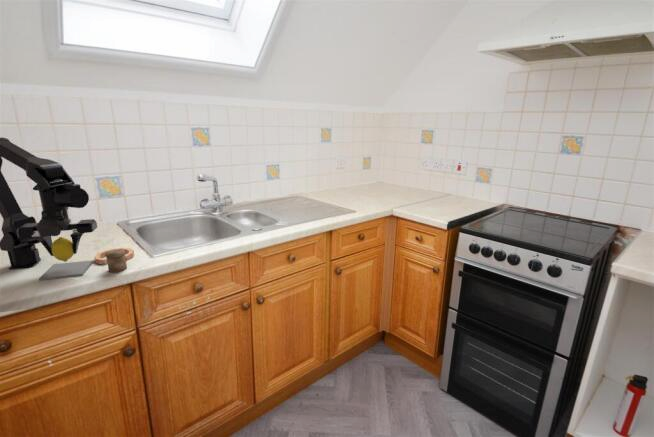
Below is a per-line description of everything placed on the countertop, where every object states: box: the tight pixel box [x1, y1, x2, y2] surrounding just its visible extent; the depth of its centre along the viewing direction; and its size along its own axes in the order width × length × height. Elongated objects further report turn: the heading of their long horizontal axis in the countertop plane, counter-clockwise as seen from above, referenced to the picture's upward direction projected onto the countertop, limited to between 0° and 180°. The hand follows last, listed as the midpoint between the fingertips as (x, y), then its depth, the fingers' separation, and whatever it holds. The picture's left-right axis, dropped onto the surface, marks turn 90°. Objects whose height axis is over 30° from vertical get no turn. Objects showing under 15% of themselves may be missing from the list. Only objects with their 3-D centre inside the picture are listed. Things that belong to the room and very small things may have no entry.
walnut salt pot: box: [105, 249, 128, 273], centre depth 110 cm, size 5×5×6 cm
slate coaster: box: [38, 259, 94, 281], centre depth 110 cm, size 11×11×1 cm
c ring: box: [93, 247, 135, 265], centre depth 120 cm, size 11×11×2 cm
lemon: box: [52, 236, 75, 263], centre depth 108 cm, size 6×6×8 cm
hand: (64, 254), depth 108 cm, fingers closed on lemon, 5 cm apart
